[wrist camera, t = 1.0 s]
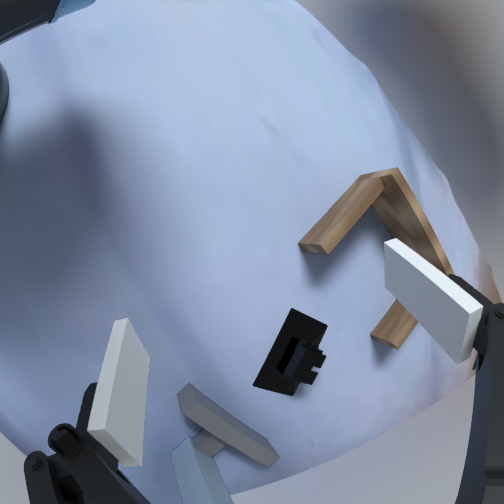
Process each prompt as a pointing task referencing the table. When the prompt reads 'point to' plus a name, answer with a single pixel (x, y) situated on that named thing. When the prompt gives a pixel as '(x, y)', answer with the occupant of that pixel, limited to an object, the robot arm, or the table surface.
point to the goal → (399, 226)
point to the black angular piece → (293, 355)
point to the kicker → (212, 449)
